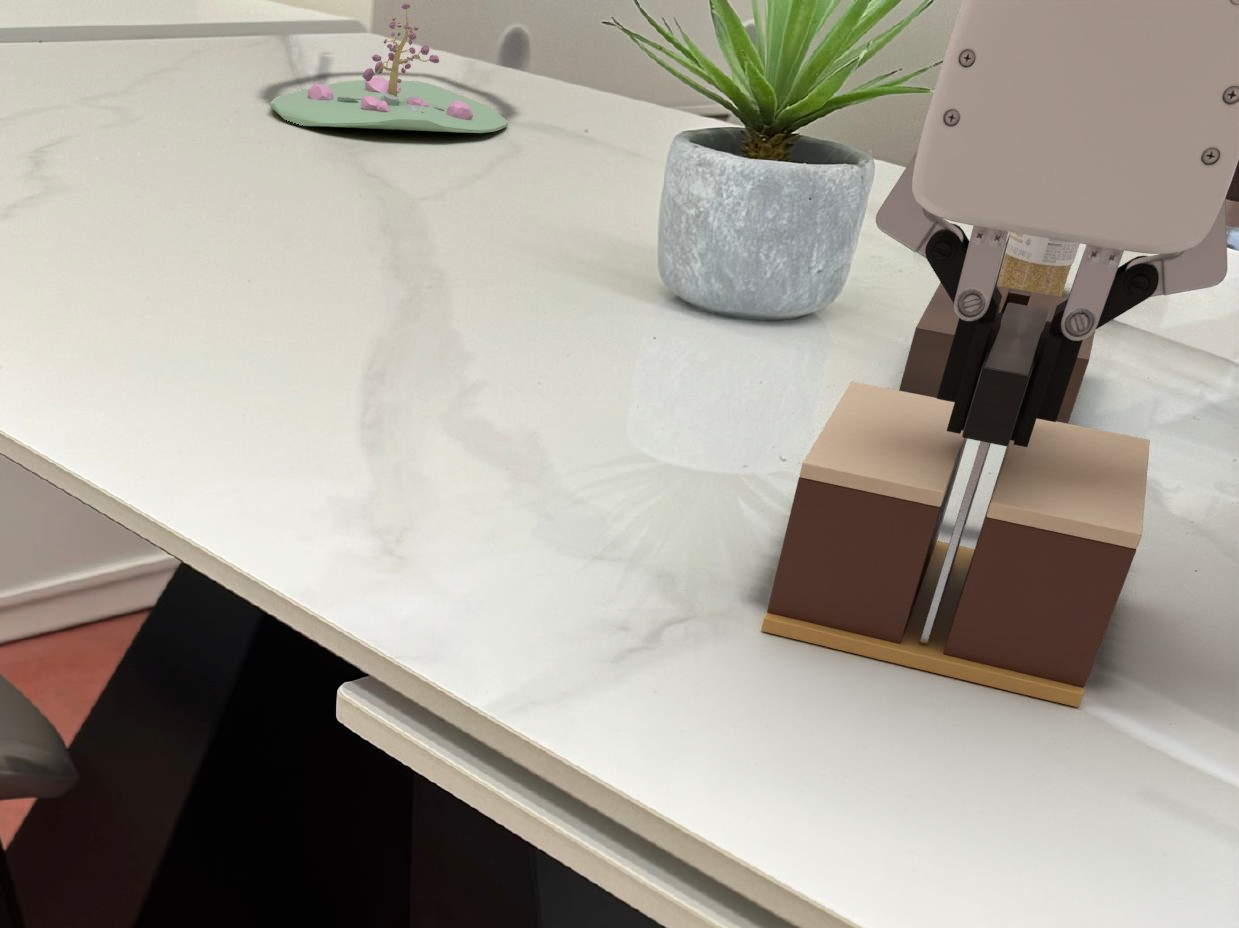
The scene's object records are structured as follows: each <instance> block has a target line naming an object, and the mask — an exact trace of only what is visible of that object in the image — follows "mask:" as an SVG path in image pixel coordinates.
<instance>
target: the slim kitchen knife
mask: <svg viewBox="0 0 1239 928" xmlns="http://www.w3.org/2000/svg"><path fill="white" fill-rule="evenodd" d="M1049 312H1050V311H1049V310H1048V309H1043V308H1037V307H1031V306H1026V305H1020V304H1015V303H1008V304H1007V306H1006V309H1005V311H1004V314H1003V317H1002V320H1001V324H1000V326H999V329H998V331H997V334H996V336H995V339H994V341H993V343H992V344H991V347H990V349H989V352H988V354H987V357H986V359H985V362H984V364H983V367H982V370H981V373H980V376H979V380H978V383H977V387H976V390H975V393H974V397H973V400H972V404H971V407H970V410H969V414H968V417H967V420H966V424H965V427H964V431H963V434H962V437H963V438H967V440H973V441H977V442H979V445H978V448H977V451H976V455H975V458H974V460H973V465H972V468H971V470H970V475H969V477H968V481H967V484H966V487H965V490H964V494H963V498H962V499H961V504H960V507H959V510H958V514H957V517H956V521H955V523H954V524H955V525H954V527H953V531H952V533H951V537H950V540H949V542H948V543H949V546H948V550H947V553H946V556H945V560H944V563H943V566H942V570H941V573H940V576H939V579H938V583H937V586H936V589H935V593H934V596H933V599H932V603H931V606H930V609H929V612H928V616H927V619H926V622H925V626H924V629H923V632H922V635H921V639H920V642H921V643H925V644H927V643H928V641H929V638H930V635H931V632H932V629H933V625H934V622H935V619H936V616H937V613H938V610H939V607H940V604H941V601H942V598H943V595H944V592H945V589H946V586H947V583H948V580H949V577H950V574H951V571H952V568H953V565H954V562H955V559H956V555H957V552H958V549H959V546H961V543H962V539H963V536H964V532H965V529H966V525H967V522H968V519H969V516H970V513H971V510H972V507H973V503H974V500H975V496H976V493H977V491H978V487H979V483H980V481H981V478H982V473H983V471H984V467H985V464H986V461H987V457H988V454H989V451H990V448H991V444H993V445H998V446H1003V447H1007V446H1008V445H1009V442H1010V439H1011V435H1012V432H1013V429H1014V426H1015V423H1016V419H1017V416H1018V413H1019V410H1020V407H1021V404H1022V400H1023V397H1024V394H1025V391H1026V388H1027V384H1028V381H1029V378H1030V375H1031V371H1032V368H1033V365H1034V362H1035V358H1036V355H1037V348H1038V345H1039V342H1040V338H1041V335H1042V332H1043V329H1044V326H1045V322H1046V321H1047V319H1048V315H1049Z"/></svg>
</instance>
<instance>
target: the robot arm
mask: <svg viewBox="0 0 1239 928" xmlns="http://www.w3.org/2000/svg"><path fill="white" fill-rule="evenodd" d="M1238 163H1239V0H962V1H961V5H960V7H959V11H958V14H957V15H956V19H955V22H954V26H953V29H952V32H951V34H950V38H949V41H948V44H947V48H946V51H945V54H944V57H943V60H942V63H941V67H940V70H939V73H938V77H937V79H936V83H935V87H934V90H933V94H932V97H931V100H930V104H929V107H928V110H927V114H926V118H925V120H924V125H923V128H922V132H921V134H920V140H919V144H918V147H917V150H916V151H915V153H914V155H913V157H911V160H910V161H909V162H908V164H907V165H906V167H905V168H904V170H903V172H902V173H901V175H900V176H899V178H898V180H897V181H896V183H894V186H893V187H892V189H891V190H890V192H889V194H888V195H887V196H886V198H885V199H884V201H883V203H882V204H881V206H880V207H879V209H878V210H877V213H876V215H875V224H876V227H877V228H878V229H879V230H880V231H881V232H882V233H884V234H885V235H887V236H888V237H890V238H892V240H895V241H896V242H897V243H899V244H900V245H903V246H904V247H905V248H907V249H909V250H910V251H912V252H914V253H917V254H918V255H920V256H922V257H923V258H925V259H926V260H927V262H928V265H929V266H930V267H931V269H932V270H933V272H934V274H935V275H936V277H937V279H938V281H939V283H940V282H941V284H942V285H943V287H944V289H945V290H946V292H947V293H948V295H949V297H950V298H951V300H952V302H953V303H954V310H955V313H956V314H957V316H958V317H959V321H958V324H957V328H956V331H955V335H954V338H953V342H952V345H951V349H950V353H949V356H948V360H947V363H946V367H945V370H944V374H943V377H942V381H941V384H940V388H939V392H938V396H937V399H939V400H945V401H950V402H955V403H954V406H953V410H952V413H951V417H950V420H949V424H948V427H947V431H948V432H953V433H958V434H960V433H961V431H964V427H965V424H966V420H967V417H968V414H969V410H970V407H971V404H972V400H973V397H974V393H975V390H976V387H977V383H978V380H979V376H980V373H981V370H982V367H983V364H984V362H985V359H986V357H987V354H988V352H989V349H990V347H991V344H992V343H993V341H994V339H995V336H996V334H997V331H998V329H999V326H1000V324H1001V320H1002V317H1003V313H999V312H998V311H999V308H1000V303H1001V299H1002V295H1001V293H1000V291H999V290H998V288H997V284H998V280H999V276H1000V273H1001V269H1002V265H1003V261H1004V258H1005V254H1006V250H1007V246H1008V243H1009V239H1010V235H1011V232H1014V233H1019V234H1025V235H1031V236H1037V237H1043V238H1049V239H1055V240H1062V241H1068V242H1074V243H1080V245H1081V244H1082V245H1085V247H1084V250H1083V253H1082V255H1081V259H1080V262H1079V264H1078V268H1077V271H1076V274H1075V276H1074V279H1073V282H1072V285H1071V288H1070V291H1069V294H1068V297H1067V298H1068V299H1067V300H1065V301H1064V302H1062V303H1060V304H1059V305H1057V306H1056V310H1055V313H1054V316H1053V319H1052V322H1049V321H1046V322H1045V326H1044V329H1043V332H1042V335H1041V338H1040V342H1039V345H1038V348H1037V355H1036V358H1035V362H1034V365H1033V368H1032V371H1031V375H1030V378H1029V381H1028V384H1027V388H1026V391H1025V394H1024V397H1023V400H1022V404H1021V407H1020V410H1019V413H1018V416H1017V419H1016V423H1015V426H1014V429H1013V432H1012V435H1011V439H1010V440H1012V441H1014V444H1013V445H1018V446H1023V447H1028V444H1029V441H1030V437H1031V434H1032V431H1033V428H1034V425H1035V422H1036V419H1041V420H1046V421H1051V422H1056V420H1057V417H1058V414H1059V411H1060V408H1061V405H1062V402H1063V399H1064V396H1065V393H1066V390H1067V387H1068V384H1069V381H1070V378H1071V375H1072V372H1073V368H1074V365H1075V362H1076V359H1077V356H1078V353H1079V350H1080V347H1081V344H1082V341H1083V340H1084V339H1086V338H1088V337H1090V336H1091V335H1092V334H1093V333H1094V331H1095V332H1096V330H1098V329H1099V328H1102V327H1103V326H1105V325H1106V324H1107V323H1110V322H1112V321H1113V320H1115V319H1116V318H1118V317H1120V316H1121V315H1122V314H1125V313H1126V312H1128V311H1129V310H1131V309H1133V308H1134V307H1136V306H1138V305H1139V304H1141V303H1143V302H1145V301H1146V300H1148V299H1149V298H1154V297H1159V296H1165V297H1166V296H1170V295H1175V294H1180V293H1187V292H1192V291H1197V290H1204V289H1208V288H1212V287H1216V286H1218V285H1219V284H1221V283H1222V282H1223V281H1224V280H1225V278H1226V276H1227V273H1228V236H1227V235H1228V233H1227V195H1228V191H1229V189H1230V186H1231V184H1232V181H1233V178H1234V175H1235V172H1236V169H1237V166H1238ZM951 222H954V223H951ZM958 223H959V224H964V225H968V226H972V229H971V234H970V237H968V236H967V234H966V232H965V231H964V230H963V228H962V227H961V226H960V225H958ZM1125 252H1132V253H1139V254H1149V255H1138V256H1135V257H1132V258H1131V259H1129V260H1128V261H1127V262H1125V263H1123V264H1121V261H1122V258H1123V255H1124V253H1125ZM1120 264H1121V265H1120Z"/></svg>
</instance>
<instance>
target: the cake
mask: <svg viewBox="0 0 1239 928" xmlns="http://www.w3.org/2000/svg"><path fill="white" fill-rule="evenodd" d="M954 403H955V402H950V401H945V400H939V399H937V398H934V397H929V396H924V395H918V394H913V393H908V392H903V391H899V389H898V390H897V389H892V388H887V387H882V386H877V385H871V384H868V383H867V384H866V383H861V382H857V381H851V382H850V383H849V385H848V386H847V388H846V390H845V392H843V395H842V396H841V398H840V399H839V402H838V403H837V405H836V406H835V408H834V410H833V411H832V413H831V415H830V416H829V418H828V420H827V421H826V423H825V424H824V427H822V430H821V431H820V433H819V434H818V437H817V438H816V439H815V441H814V443H813V445H812V446H811V448H810V450H809V451H808V453H807V454H806V456H805V458H804V460H803V461H802V463H801V467H800V470H799V477H798V478H797V483H796V488H795V491H794V495H793V496H794V497H793V500H792V505H791V508H790V513H789V517H788V522H787V526H786V530H785V534H784V538H783V543H782V547H781V551H780V555H779V559H778V563H777V568H776V570H775V571H776V572H775V576H774V580H773V585H772V587H771V588H772V589H771V592H770V597H769V601H768V605H767V608H766V614H765V615H764V617H763V620H762V624H761V629H760V630H761V632H764V633H767V634H772V635H776V636H780V637H785V638H789V639H793V640H797V641H801V642H806V643H809V644H814V645H817V646H822V647H826V648H831V649H834V650H838V651H841V652H846V653H850V654H855V655H858V656H863V657H868V658H871V659H875V660H880V661H885V662H889V663H892V664H896V665H901V666H905V667H909V668H912V669H917V670H921V671H925V672H929V673H934V674H938V675H942V676H947V677H950V678H954V679H958V680H963V681H967V682H970V683H975V684H978V685H983V686H986V687H987V686H988V687H991V688H996V689H999V690H1005V691H1008V692H1012V693H1017V694H1021V695H1024V696H1029V697H1033V698H1037V699H1041V700H1045V701H1049V702H1054V703H1058V704H1062V705H1066V706H1070V707H1074V708H1079V707H1080V705H1081V702H1082V700H1083V697H1084V693H1085V688H1086V687H1087V683H1088V681H1089V678H1090V676H1091V672H1092V670H1093V667H1094V664H1095V662H1096V659H1097V657H1098V654H1099V651H1100V649H1101V646H1102V643H1103V640H1104V638H1105V636H1106V633H1107V629H1108V628H1109V624H1110V623H1111V619H1112V616H1113V614H1114V612H1115V609H1116V606H1117V603H1118V600H1119V598H1120V595H1121V592H1122V590H1123V588H1124V585H1125V582H1126V579H1127V577H1128V574H1129V571H1130V569H1131V566H1132V563H1133V561H1134V558H1135V555H1136V553H1137V549H1138V547H1139V545H1140V542H1141V539H1142V537H1143V529H1144V518H1145V508H1146V507H1145V504H1146V494H1147V482H1148V481H1147V480H1148V470H1149V469H1148V468H1149V457H1150V447H1151V446H1150V444H1151V440H1150V439H1148V438H1143V437H1138V436H1133V435H1128V434H1123V433H1117V432H1113V431H1107V430H1103V429H1097V428H1092V427H1086V426H1082V425H1076V424H1072V423H1068V424H1067V423H1062V422H1051V421H1046V420H1041V419H1036V422H1035V425H1034V428H1033V431H1032V434H1031V437H1030V441H1029V444H1028V447H1023V446H1018V445H1013V444H1014V441H1012V440H1010V442H1009V445H1008V446H1006V448H1005V451H1004V454H1003V458H1002V460H1001V464H1000V466H999V470H998V473H997V476H996V480H995V483H994V486H993V489H992V493H991V496H990V498H989V502H988V505H987V508H986V512H985V515H984V518H983V521H982V524H981V528H980V530H979V534H978V537H977V540H976V544H975V547H974V548H972V547H967V546H962V545H959V549H958V552H957V555H956V559H955V562H954V565H953V568H952V571H951V574H950V577H949V580H948V583H947V586H946V589H945V592H944V595H943V598H942V601H941V604H940V607H939V610H938V613H937V616H936V619H935V622H934V625H933V629H932V632H931V635H930V638H929V641H928V643H927V644H925V643H921V642H920V639H921V635H922V632H923V629H924V626H925V622H926V619H927V616H928V612H929V609H930V606H931V603H932V599H933V596H934V593H935V589H936V586H937V583H938V579H939V576H940V573H941V570H942V566H943V563H944V560H945V556H946V553H947V550H948V546H949V543H950V542H945V541H939V540H938V539H939V536H940V533H941V530H942V526H943V522H944V520H945V516H946V513H947V509H948V505H949V502H950V498H951V495H952V493H953V488H954V485H955V482H956V478H957V476H958V472H959V468H960V464H961V463H962V462H961V461H962V459H963V455H964V452H965V449H966V445H967V442H968V439H967V438H963V437H962V434H963V431H961V433H960V434H958V433H953V432H948V431H947V427H948V424H949V420H950V417H951V413H952V410H953V406H954Z"/></svg>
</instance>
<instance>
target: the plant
mask: <svg viewBox="0 0 1239 928" xmlns="http://www.w3.org/2000/svg"><path fill="white" fill-rule="evenodd" d="M409 8H411V4H409V3H407V2H405V3H403V4H402V5H401V9H403V10H405V11H406V12H405V21H406V22H405V23H406V24H405V25H404V24H403V23H401V22H398V23H396V19H397V18H396V17H393V18H392V21H391V22H390V23H389V24H388V27H389V28H390V29H392V30H395V28H396V27H397V28H400V29H401V28H402V29H403V30H405V33H404V36H403V38H402V40H401V42H400V43H398V42H397V41H396V40H397V38H395V39H391V40H388V39H387V38H385V39H384V40H383V44H387V42H388V44H387V45H386V47H387V49H388V50H389V52H388V53H387V56H388V59H387V60H386V61H384V62H383V61H382V56H381V55H379V54H377V53H375V54H374V55H372V56H371V59H372V61H373V62H377V63H376V64H375V66H374V69H373V68H372V67H371V68H370V67H369V68H366V69H365V71H364V72H363V73H362V78H363V79H358V80H357V79H356V80H346V81H338V82H334V83H329V84H321V83H314V84H312V86H311V87H309V88H308V89H307V88H306V89H303V90H298V91H295V92H290V93H285V94H281V95H277V96H276V97H275V98H273V99H272V100H271V101H270V102H269V106H270V107H271V108H272V109H273V110H274V111H275V112H276V113H277V114H278V115H279V116H280V117H281V118H282V119H283V120H285V121H286V120H287V121H286V122H288V121H290V122H293V123H292V124H294V123H296V124H295V125H297V124H299V125H298V126H302V125H303V126H302V127H324V128H346V129H348V128H349V129H369V130H392V131H393V130H395V131H396V130H397V131H419V132H443V133H471V134H484V133H492V132H494V133H495V132H497V131H500V130H502V129H505V128H506V127H507V126H508V123H509V121H508V120H507V118H505V117H504V116H503V115H502V114H500V113H498V112H497V111H496V110H494V109H492V108H491V107H489V106H488V105H486V104H484V103H482V102H479V101H477V100H475V99H472V98H469V97H467V96H464V95H462V94H459V93H457V92H454V91H451V90H449V89H446V88H444V87H441V86H439V85H436V84H433V83H429V82H424V81H418V80H402V79H401V78H399V67H400V66H399V65H402V66H403V67H402V68H401V69H400V72H401V73H402V74H403V75H404V74H406V72H407V71H406V70H409V69H411V68H412V65H411V63H410V62H413V61H414V60H419V61H420V62H423V63H424V62H425V63H426V62H430V63H433V64H439V62H440V58H439V56H438V55H437V54H431V55H430V56H429V58H428V59H426V60H424V59H421V56H420V54H422V55H423V56H427V55H429V53H430V47H429V45H427V44H424V45H422V46H421V48H420V50H419V52H418V53H417V54H415V53H416V48H414V47H409V49H405V50H403V49H404V47H405V45H406V43H407V41H408V44H409V46H411V45H412V44H414V43H413V41H414V40H416V38H417V34H416V33H415V32H416V31H419V29H420V27H418V26H414V27H412V26H411V25H409V18H408V17H409V16H408V10H407V9H409ZM395 35H396V33H395V32H394V31H392V32H391V34H390V36H391V38H394V36H395ZM400 36H401V32H398V33H397V37H400ZM408 39H409V40H408ZM403 53H410V55H412V56H410V57H409V56H406V58H404V59H403V58H401V54H403ZM389 61H391V62H392V64H391V67H390V68H389V67H388V64H389ZM384 63H386V64H385V65H384ZM404 64H405V65H404ZM384 70H385V71H386V72H390V76H389V80H388V79H386V78H384V77H381V76H375V75H379V74H380V75H381V74H382V73H383V71H384ZM290 122H289V123H290Z"/></svg>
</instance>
